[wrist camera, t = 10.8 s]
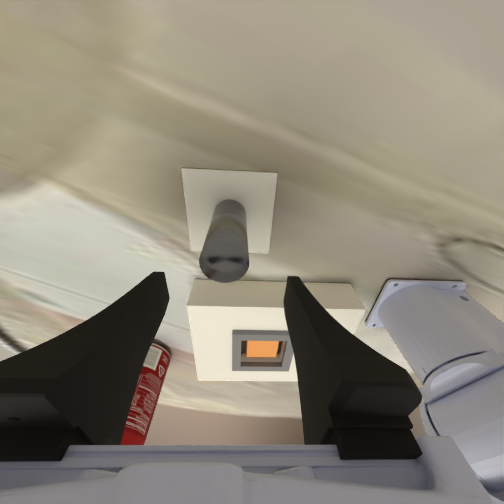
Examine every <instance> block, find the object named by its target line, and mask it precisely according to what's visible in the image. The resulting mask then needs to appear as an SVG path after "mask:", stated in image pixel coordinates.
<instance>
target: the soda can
mask: <svg viewBox="0 0 504 504" xmlns="http://www.w3.org/2000/svg"><path fill="white" fill-rule="evenodd" d="M170 359H171V358H170V354H169V353H168V351H167V350H166V349H164V348H163V347H161V346H160V345H158V344H156V343H153V342H152V344H151V346H150V349H149V351H148V354H147V356H146V359H145V362H144V365H143V368H142V371H141V374H140V377H139V380H138V383H137V387H136V390H135V393H134V396H133V400H132V403H131V407H130V411H129V414H128V418H127V422H126V425H125V429H124V433H123V437H122V441H121V445H144V443H145V440H146V436H147V433H148V430H149V427H150V424H151V420H152V417H153V414H154V411H155V408H156V405H157V401H158V398H159V395H160V392H161V389H162V386H163V382H164V379H165V376H166V373H167V370H168V366H169V363H170Z"/></svg>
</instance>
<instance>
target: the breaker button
mask: <svg viewBox="0 0 504 504" xmlns="http://www.w3.org/2000/svg"><path fill="white" fill-rule="evenodd" d="M278 344H279V341H247V350H246V357H276V354H277V349H278Z"/></svg>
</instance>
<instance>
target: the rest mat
mask: <svg viewBox="0 0 504 504" xmlns="http://www.w3.org/2000/svg"><path fill="white" fill-rule="evenodd" d="M181 172H182V180H183V189H184V197H185V206H186V214H187V222H188V231H189V239H190V248H191V251H202V249H203V245H204V242H205V239H206V235H207V232H208V229H209V226H210V222H211V219H212V216H213V212H214V209H215V207H216V206H217V204H218V203H220V202H221V201H223V200H228V199H231V200H235V201H237V202H239V203H240V204H242V206H243V207H244V209H245V211H246V221H247V237H248V252H249V253H269V246H270V237H271V228H272V219H273V210H274V201H275V192H276V183H277V174H278V173H273V172H254V171H234V170H214V169H195V168H181Z"/></svg>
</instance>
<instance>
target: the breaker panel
mask: <svg viewBox="0 0 504 504" xmlns="http://www.w3.org/2000/svg"><path fill="white" fill-rule="evenodd" d="M286 283H287V282H274V281H238V280H236V281H234V282H230V283H220V282H216V281H214V280H202V279H195V281H194V284H193V287H192V290H191V293H190V296H189V300H188V303H187V312H188V318H189V325H190V331H191V337H192V344H193V350H194V357H195V363H196V369H197V376H198V381H298V378H297V371H296V364H295V358H294V353H293V348H292V344H291V340H290V336H289V332H288V328H287V324H286V319H285V313H284V304H283V300H284V294H285V289H286ZM303 283H304V285H305V286H306V287H307V289H308V290H309V291H310V292H311V294H312V295H313V296H314V297H315V298H316V299H317V301H318V302H319V303H320V304H321V305H322V306H323V307H324V308H325V310H326V311H327V312H328V313H329V314H330V315H331V316H332V317H333V318H334V319H335V320H337V321H338V322H339V323H340V324H341V325H342V326H343V327H344V328H346V329H347V330H348V331H349V332H350V333H352V334H353V335H354V334H355V332H356V330H357V327H358V325H359V323H360V321H361V319H362V317H363V315H364V313H365V311H366V309H365V307H364V305H363V304H362V302H361V301H360V299H359V297H358V296H357V294H356V292H355V291H354V289H353V288H352V286H351V284H346V283H310V282H303ZM247 341H279V344H278V349H277V354H276V357H246V350H247Z"/></svg>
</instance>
